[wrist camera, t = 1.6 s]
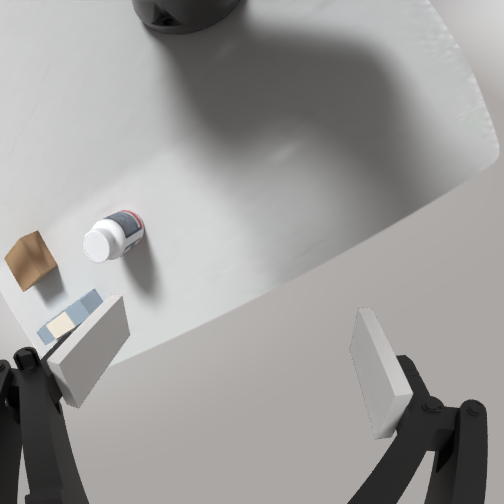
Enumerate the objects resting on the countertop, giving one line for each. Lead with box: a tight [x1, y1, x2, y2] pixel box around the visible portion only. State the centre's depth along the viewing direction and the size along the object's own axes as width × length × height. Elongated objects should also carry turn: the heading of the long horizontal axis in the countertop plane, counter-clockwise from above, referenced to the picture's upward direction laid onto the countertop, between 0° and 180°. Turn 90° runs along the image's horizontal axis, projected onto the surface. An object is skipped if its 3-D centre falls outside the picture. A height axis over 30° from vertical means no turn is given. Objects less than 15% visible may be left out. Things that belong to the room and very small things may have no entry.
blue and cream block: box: [36, 289, 103, 345], centre depth 44 cm, size 3×16×5 cm, turn 121°
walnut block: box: [4, 231, 57, 292], centre depth 41 cm, size 7×7×5 cm
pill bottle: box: [83, 210, 144, 263], centre depth 36 cm, size 5×5×9 cm
